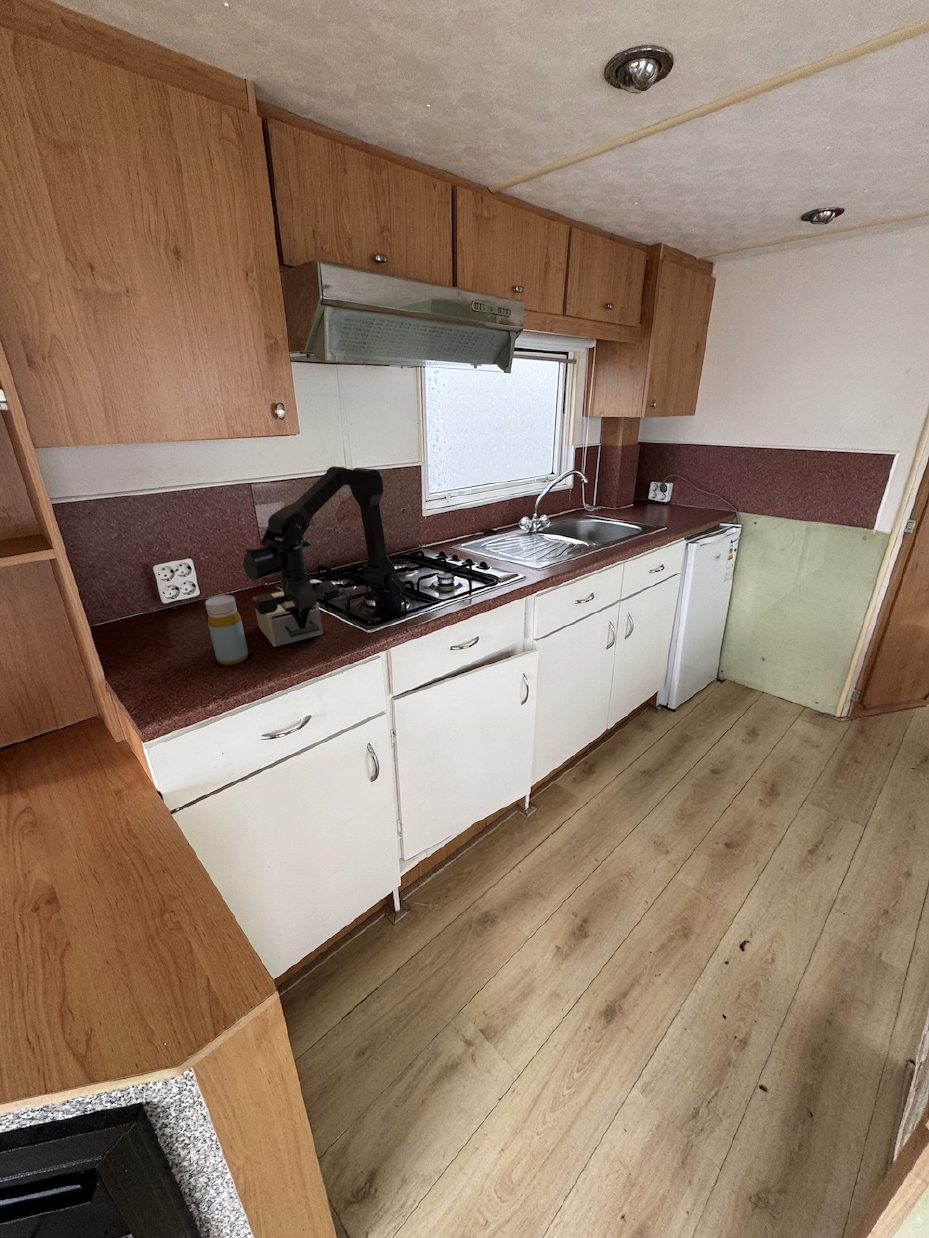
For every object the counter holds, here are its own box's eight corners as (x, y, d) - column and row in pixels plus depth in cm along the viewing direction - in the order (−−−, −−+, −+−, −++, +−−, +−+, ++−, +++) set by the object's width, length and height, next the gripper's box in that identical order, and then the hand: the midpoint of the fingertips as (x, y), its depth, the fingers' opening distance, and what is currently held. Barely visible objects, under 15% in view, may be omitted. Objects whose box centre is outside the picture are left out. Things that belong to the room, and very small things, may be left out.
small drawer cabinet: (323, 634, 139) (318, 603, 135) (273, 647, 132) (267, 615, 129) (305, 616, 150) (300, 587, 146) (258, 627, 144) (252, 597, 140)
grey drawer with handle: (330, 641, 132) (327, 616, 129) (284, 654, 127) (279, 628, 124) (306, 617, 147) (302, 594, 144) (263, 627, 141) (259, 603, 138)
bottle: (238, 666, 123) (224, 606, 117) (211, 664, 125) (196, 605, 119) (254, 653, 129) (242, 595, 124) (228, 651, 131) (215, 593, 125)
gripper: (259, 586, 112) (272, 652, 119) (344, 569, 122) (351, 631, 128) (247, 572, 121) (259, 635, 127) (327, 557, 130) (334, 616, 136)
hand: (302, 629), depth 129 cm, fingers closed
